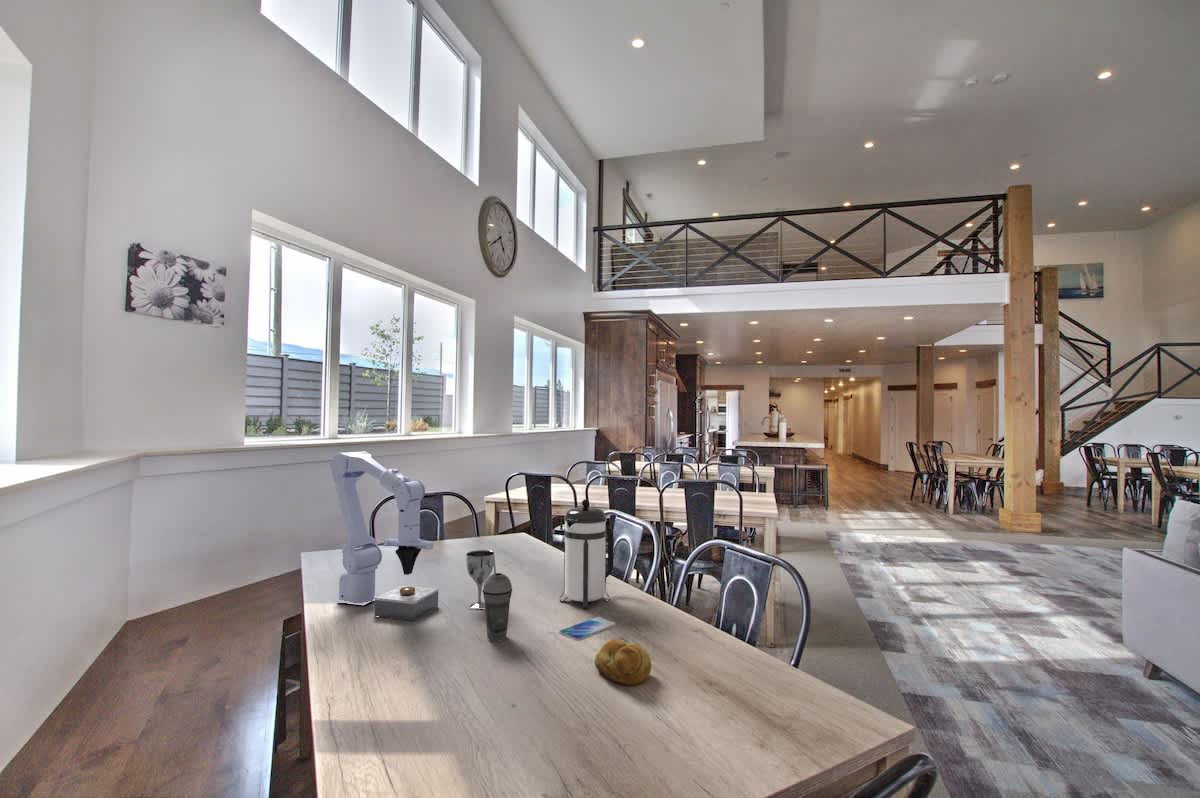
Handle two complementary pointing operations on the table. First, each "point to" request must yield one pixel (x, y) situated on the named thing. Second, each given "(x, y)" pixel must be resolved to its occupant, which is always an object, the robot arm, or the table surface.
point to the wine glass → (479, 570)
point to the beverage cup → (497, 604)
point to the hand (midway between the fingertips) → (408, 573)
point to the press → (406, 603)
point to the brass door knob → (407, 590)
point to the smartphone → (587, 628)
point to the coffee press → (586, 554)
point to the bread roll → (623, 662)
